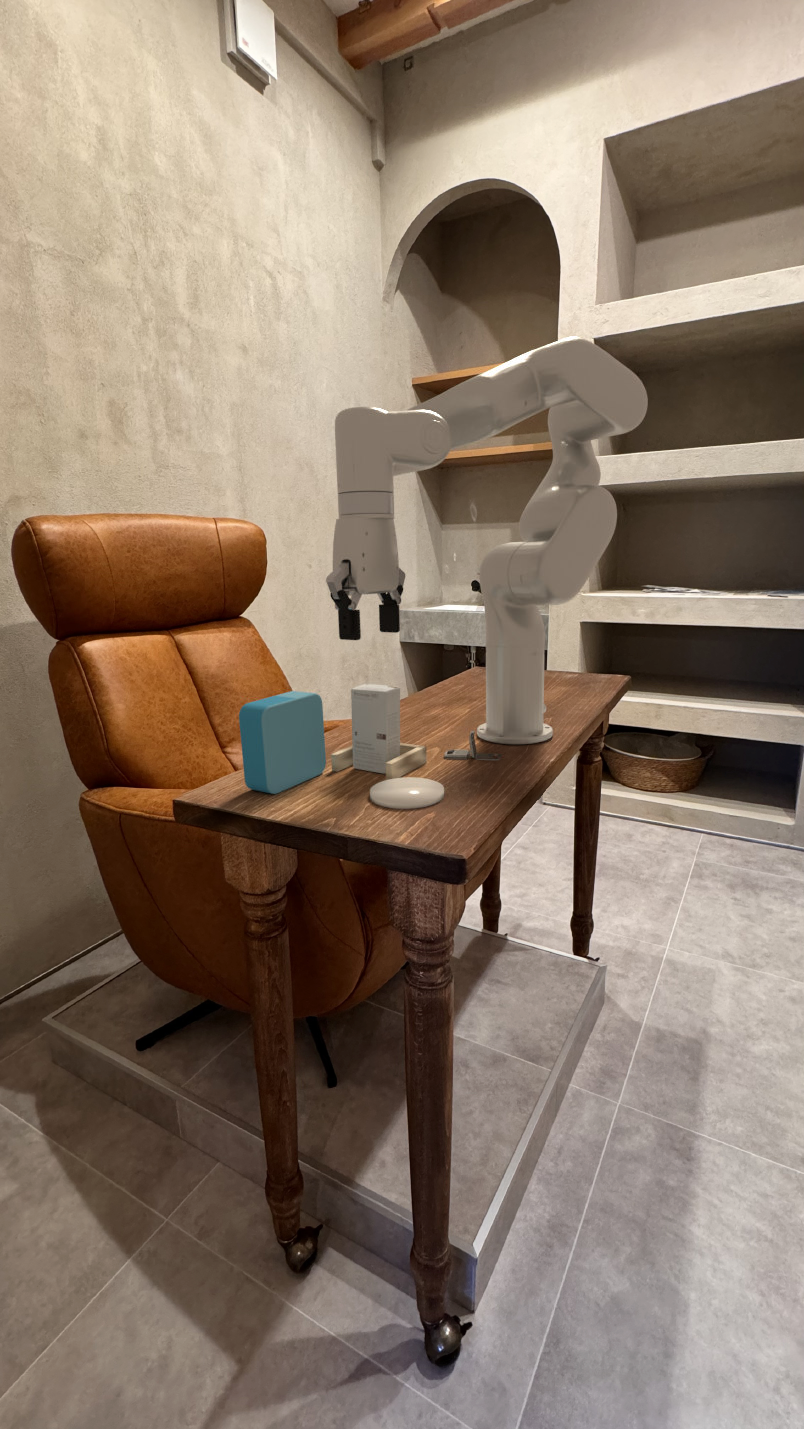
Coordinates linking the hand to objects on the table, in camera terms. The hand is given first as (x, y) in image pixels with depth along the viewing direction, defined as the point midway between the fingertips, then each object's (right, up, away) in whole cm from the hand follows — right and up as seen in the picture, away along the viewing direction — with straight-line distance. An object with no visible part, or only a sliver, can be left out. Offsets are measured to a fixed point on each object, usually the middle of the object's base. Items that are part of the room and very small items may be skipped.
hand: (370, 635), depth 94 cm
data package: (-12, -21, 0) cm, 24 cm away
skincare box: (+1, -19, +5) cm, 20 cm away
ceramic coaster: (+5, -22, -7) cm, 23 cm away
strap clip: (+15, -18, +9) cm, 25 cm away
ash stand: (+1, -19, +5) cm, 19 cm away
